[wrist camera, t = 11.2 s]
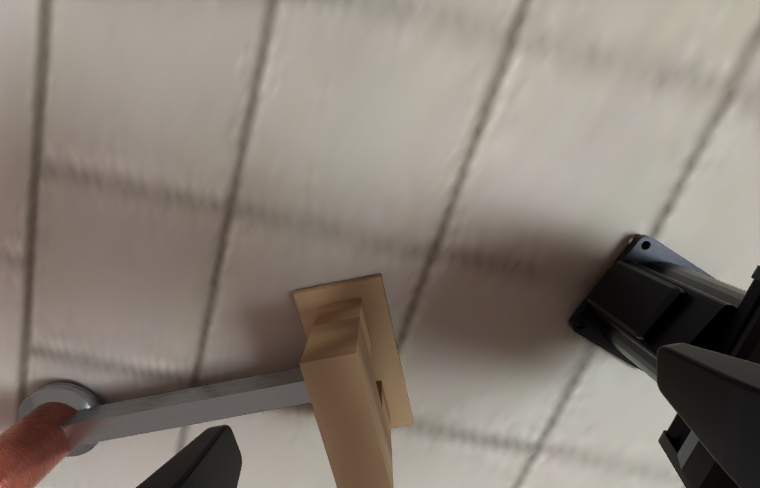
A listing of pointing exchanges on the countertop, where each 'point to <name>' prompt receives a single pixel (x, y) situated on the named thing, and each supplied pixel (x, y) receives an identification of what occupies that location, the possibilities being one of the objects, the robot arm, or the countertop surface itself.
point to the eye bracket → (353, 378)
